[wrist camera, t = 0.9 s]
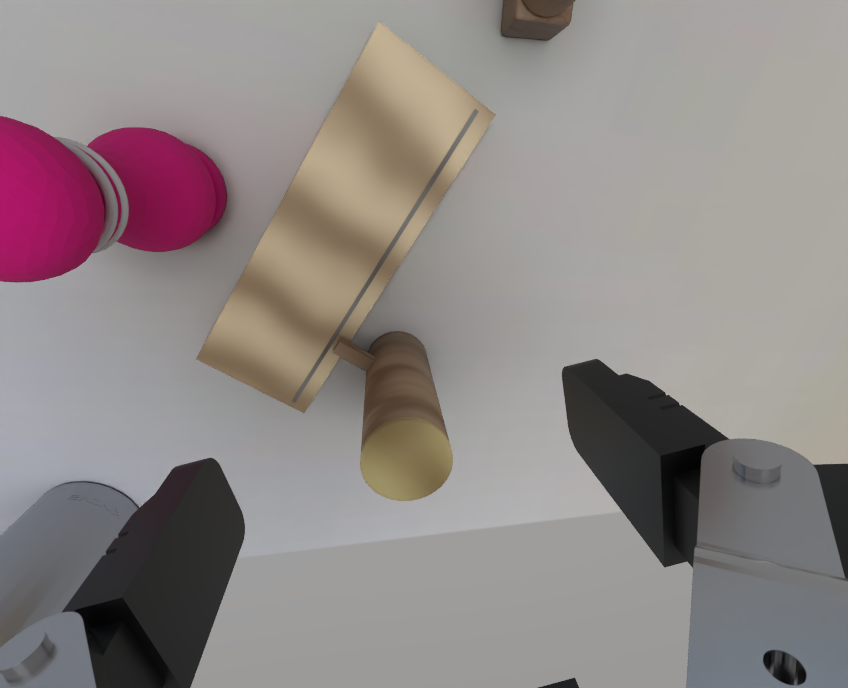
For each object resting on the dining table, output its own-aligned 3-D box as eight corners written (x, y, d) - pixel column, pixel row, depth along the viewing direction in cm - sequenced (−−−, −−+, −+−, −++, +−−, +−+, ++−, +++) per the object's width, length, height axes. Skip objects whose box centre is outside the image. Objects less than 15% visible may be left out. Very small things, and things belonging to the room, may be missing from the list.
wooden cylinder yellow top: (405, 395, 39) (419, 513, 25) (325, 351, 37) (294, 454, 23) (437, 350, 38) (470, 448, 24) (356, 302, 36) (343, 380, 22)
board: (308, 398, 38) (304, 413, 36) (208, 347, 36) (195, 359, 33) (487, 119, 32) (495, 114, 29) (379, 33, 29) (379, 20, 27)
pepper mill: (138, 114, 30) (-265, 13, 11) (246, 161, 31) (52, 140, 13) (117, 218, 32) (-252, 278, 13) (220, 256, 33) (20, 358, 15)
